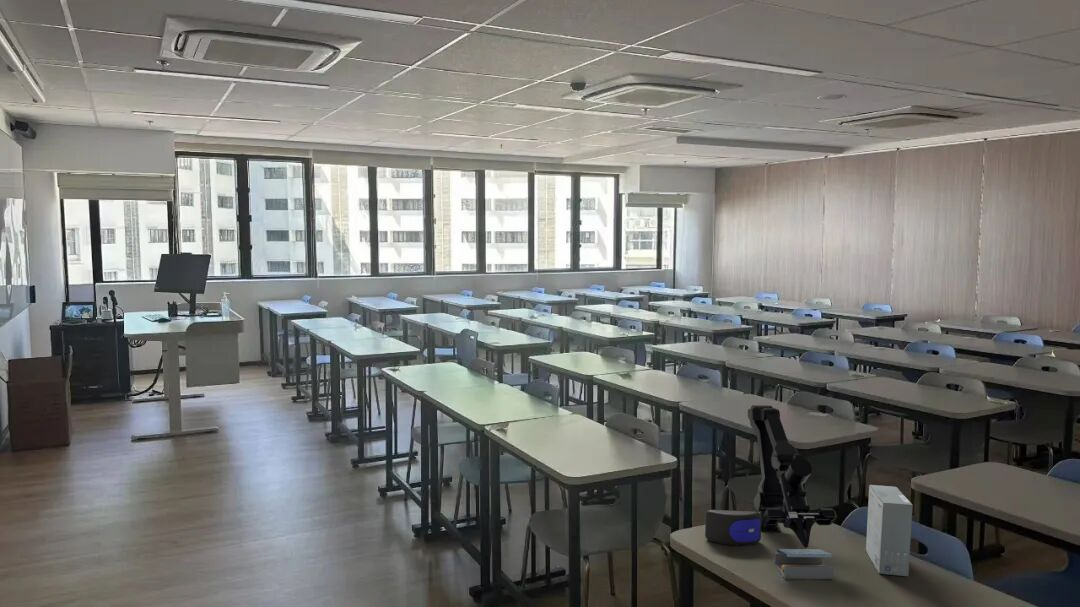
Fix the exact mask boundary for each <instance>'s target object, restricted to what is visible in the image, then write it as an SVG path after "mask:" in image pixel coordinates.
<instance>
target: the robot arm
mask: <svg viewBox="0 0 1080 607" xmlns="http://www.w3.org/2000/svg"><path fill="white" fill-rule="evenodd" d="M747 418H748V420H749V423H750V424H749V425H750V427H751V428H752V430H753V431H754V432H755V433H756V437H757V438H756V439H757V447H758V454H759V455H758V457H759V465H760V471H761V472H760V474H761V480H760V483H759V484H758V487H757V492H756V495H755V496H754V498H753V507H754V508H755V509H756V510H757V512H759V513H760V514H761V532H767V533H768V532H769V533H782V530H781V527H780V524H783V527H784V528H785V529H789V530H791V531H792V532H793V533H794V534H795V535H796V537H797V538H798V540H799V542H800V543H801V545H802V547H803V549H807V548H809V544H810V536H811V532H812V527H813V526H814V525H815V523H816V524H817V525H818V526H830V525H832V524H834V521H835V520H836V519H838V518H837V517H838V515H837V512H836V511H835V510H834V508H832V507H828V508H827V507H826V508H825V507H820V508H819V509H818V510H817V512H810V510H811V507H810V505H808V503H807V498H806V497H807V491H805V489H804V485H803V484H805V483H806V482H807V480H808V478H809V477H810V476H811V474H812V471H813V467H812V464H811V463H810V461H808V460H807V459H805V458H803V456H802V455H803V454H799V453H798V451H797V449H796V446H795V447H794V446H793V445H792V444H790V442H789V440H788V437H787V434H786V431H785V428H784V425H783V423H782V420H781V413H780V409H778V408H776V407H773V406H772V405H771V404H770V405H769V404H768V405H767V404H766V405H764V404H763V405H757V404H754V405H753V404H752V405H751V406H750V408H748V409H747ZM778 472H783V473H782V474H781V475H780V476H779V478H778Z"/></svg>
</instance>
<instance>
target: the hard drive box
mask: <svg viewBox="0 0 1080 607" xmlns="http://www.w3.org/2000/svg"><path fill="white" fill-rule="evenodd" d="M913 505H914V504H912V502H911V501H910V500H909V499H908V498H907V497H906V496H905V495H904V494H903V492H902V491H900V489H899V488H898V487H897V486H891V485H889V486H888V485H878V484H877V485H876V484H869V486H868V504H867V518H866V520H867V522H866V540H865V544H866V545H865V552H867V555H868V557H869V559H870V560H871V562H872V563H873V566H874V567H875V569H876V571H877V573H878V574H881V575H891V576H898V577H909V573H910V572H909V571H910V570H909V569H910V556H911V553H910V552H911V540H912V521H913Z"/></svg>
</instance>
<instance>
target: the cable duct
mask: <svg viewBox="0 0 1080 607" xmlns="http://www.w3.org/2000/svg"><path fill="white" fill-rule="evenodd" d="M773 558H774V562H773V565H774V564H775V565H774V567H775V566H776V567H777V568H776V567H775V568H776V569H777V571H778V570H779V571H780V572H779V571H778V572H779V574H780V573H781V574H782V575H781V574H780V575H781V577H782V578H783V577H784V578H785V579H832V580H831V581H834V579H835V578H834V577H835V566H833V565H832V566H831V565H824V564H823V557H786V556H784V555H782V554H780V553H778V552H774V556H773ZM784 578H783V579H784ZM785 579H784V580H785Z"/></svg>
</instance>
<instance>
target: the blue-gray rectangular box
mask: <svg viewBox="0 0 1080 607" xmlns="http://www.w3.org/2000/svg"><path fill="white" fill-rule="evenodd" d="M776 553H780V554H782V555H784V556H786V557H822V558H833V554H832V553H830V552H827V551H826V550H823V549H821V548H820V549H818V548H817V549H813V548H809V549H807V548H803V549H802V548H800V549H799V548H776Z"/></svg>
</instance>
